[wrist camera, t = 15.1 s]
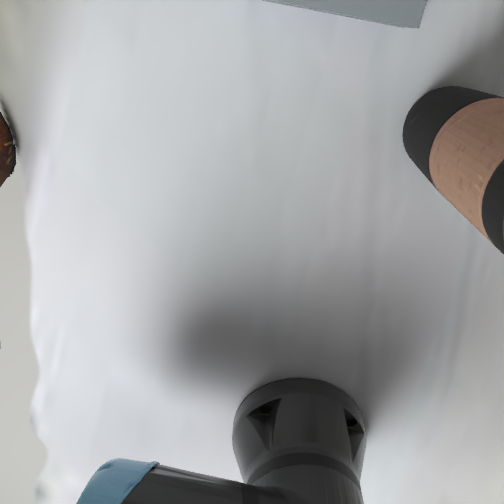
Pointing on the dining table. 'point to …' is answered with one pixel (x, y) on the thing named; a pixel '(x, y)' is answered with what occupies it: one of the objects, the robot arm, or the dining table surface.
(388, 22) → the socket board
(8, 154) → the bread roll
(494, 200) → the travel mug
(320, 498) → the robot arm
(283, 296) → the dining table surface
